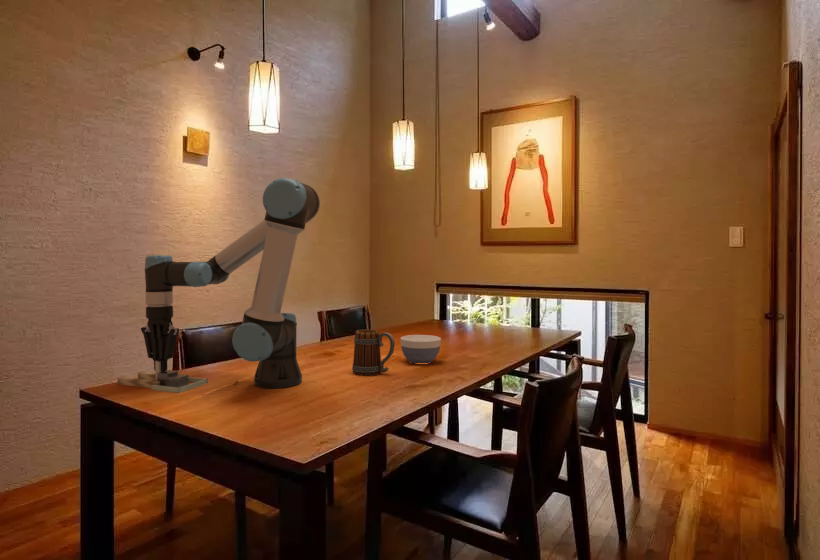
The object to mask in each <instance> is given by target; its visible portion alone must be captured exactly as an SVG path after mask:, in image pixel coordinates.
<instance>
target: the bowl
mask: <svg viewBox="0 0 820 560" xmlns="http://www.w3.org/2000/svg"><path fill="white" fill-rule="evenodd" d="M441 343H442V338H441V337H439V336H436V335H431V334H430V335H429V334H428V335H427V334H410V335H404V336H401V337H400V347H401V352H402V354H403V355H404V358H405V359H406V360H408V362H409V363H410V362H411V363H410V364H412V363H429V362H432V363H433V361H434V360H435V359H436V358H437V357H438V354H439V353H440V351H441V350H440V349H441Z"/></svg>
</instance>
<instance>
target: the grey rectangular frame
mask: <svg viewBox="0 0 820 560" xmlns="http://www.w3.org/2000/svg"><path fill="white" fill-rule="evenodd" d="M208 381H209V380H208V378H205V377H203V378H201V377H194V376H193V377H191V376H188V385H185V386H182V387H179V388H176V387H167V386H159V385H152V388H151V390H152V391H157V392H165V393H166V392H167V393H168V392H169V393H175V394H180V393H184V392H186V391H189V390H192V389H195V388H198V387H201V386H203V385H207V384H208Z"/></svg>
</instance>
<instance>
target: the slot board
mask: <svg viewBox="0 0 820 560" xmlns="http://www.w3.org/2000/svg"><path fill="white" fill-rule="evenodd" d="M117 385H123V386H131V387H139V388H146V389H147V388H148V389H152V385H159V386H160V381H156V375H155V372H147V371H146V372H145V371H139V372H137V378H134V377H133V378H132V377H125V376H124V377H123V376H122V377H121V376H120V377H118V378H117Z"/></svg>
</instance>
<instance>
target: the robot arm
mask: <svg viewBox="0 0 820 560" xmlns="http://www.w3.org/2000/svg"><path fill="white" fill-rule="evenodd" d="M262 204H263V207H264V209H265V211H266V212H265V215H264V219H263V220H262V221H260V222H259V223H258V224H256V225H254V227H252V228H251V229H249V230H248V231H247V232H246V233H244V234H243V235H241V236H240V237H239V238H237V239H236V240H234V241H233V242H232V243H230V244H229V245H227V246H226V247H225V248H224V249H222V250H221V251H219V252H218V253H216V254H215V255H214V256H213V257H211V258H210V259H209V260H207V261H173V256H171V255H169V254H168V255H166V254H165V255H164V254H163V255H159V254H158V255H157V254H156V255H153V254H152V255H151V254H149V255H147V256H146V257H145V261H144V262H145V263H144V269H143V270H144V280H145V305H146V307H145V318H146V319H148V320H147V324H146V325H145V326H142V327H141V328H140V331H141V332H142V335H143V339H144V344H145V348H146V353H147V358H148V359H152V361H153V371H155V372H154V373H155V375H156V381H157V373H159V372H162V371H167V370H168V360H170V359H173V357H174V354H175V348H176V342H177V337H178V336H177V335H178V334H179V332H180V328H177V327H175V326H174V324H173V321H172V318H173V317H174V306H173V305H172V304H173V303H174V295H173V294H174V287H193V288H200V287H206V286H208V285H209V286H210V285H219V284H222V283H224V282H226V281H227V280H228V279H229V276H230V274H232V273H233V272H235V271H236V270H238V269H239V268H240V267H241V266H243V265H244V264H246V263H247V262H249V261H250V260H252V259H253V258H254V257H256V256H258V254H260V253H261V252H262V255H261V260H260V265H259V269H258V274H257V279H256V282H255V287H254V292H253V297H252V301H251V305H250V307H249V308H247V309H246V310H244V313H243V318H242V322H241V324H240V325H239V326H237V327H236V329H235V330H234V332H233V334H232V339H231V341H232V346H233V350H234V351H235V352H236V354H237V356H239V357H240V358H242V359H243V360H245V361H247V362H252V363H253V362H258V364H257V367H256V370H255V373H254V377H253V384H254V386H255V387H258V388H263V389H283V388H289V387H295V386H297V385H300V384H301V383H302V382H303V375H302V374H303V373H302V371H301V369H300V365H299V363H298V360H297V358H298V357H297V325H298V323H297V316H296V314H294V313H292V312H290V313H289V312H281V311H282V307H283V303H284V297H285V294H286V289H287V285H288V280H289V275H290V271H291V268H292V267H291V266H292V262H293V259H294V252H295V248H296V243H297V240H298V237H299V234H301V233H303V232H304V231H305V229H306V224H307V223H309V222H311V221H312V220H313V219H314V218H315V217H317V214H318V212H319V210H320V206H321V205H320V204H321V201H320V197H319V195H318V192H317V191H316V190H315V189H314V188H313V187H312V186H310V185H308V184H305V183H302V182H301V181H298V180H297V179H293V178H289V177H288V178H287V177H282V178H281V177H280V178H277V179H275V180H273V181H271V182H270V183H269V184H268V185H267V186H266V187H265V189H264V191H263V194H262Z"/></svg>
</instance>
